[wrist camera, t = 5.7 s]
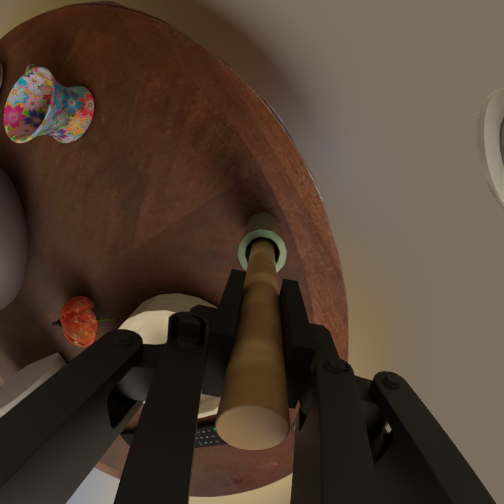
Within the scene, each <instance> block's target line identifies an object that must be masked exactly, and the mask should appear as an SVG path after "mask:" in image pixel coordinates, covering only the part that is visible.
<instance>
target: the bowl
mask: <svg viewBox="0 0 504 504" xmlns="http://www.w3.org/2000/svg"><path fill="white" fill-rule="evenodd" d="M198 304H200V305H205V306H209V307H214V308H217V307H216V306H214V305H212V304H210V303H208V302H206V301H204V300H202V299H200V298H198V297H194V296H189V295H184V294H180V293H173V294H162V295H157V296H155V297H153V298H150V299H148V300H146V301H144V302H142V303H141V304H140V305H139V307H138V308H137V309H136V310H135V311H134V312H133V313H132V314H131V315H130V316H129V317H128V318H127V319H126V321H125V322H124V323H123V324H122V325H121V326H120V327H119V328H118V329H127V330H131V331H134V332H136V333H138V334H139V335H140V336H141V337H142V339H143V344H164V343H166V341H167V334H168V319H169V317H170V316H171V315H172V314H174V313H176V312H184V311H185V312H189V311H190V309H191V308H192V307H194V306H196V305H198ZM219 401H220V397H214V396H209V395H205V394H202V391H201V398H200V406H199V414H198V418H202V417H206V416H210V415H214V414H216V413H217V411H218V406H219ZM143 403H145V401H144V402H143Z"/></svg>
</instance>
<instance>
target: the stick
mask: <svg viewBox="0 0 504 504" xmlns="http://www.w3.org/2000/svg"><path fill="white" fill-rule="evenodd" d="M215 428H216V431H217V433H218V435H219V436H220V437H221V438H222V439H223V440H224V441H225V442H227V443H228V444H230V445H232V446H235V447H237V448H241V449H246V450H262V449H267V448H270V447H273V446H276V445H277V444H279V443H281V442H282V441H283V440H284V439H285V438H286V437H287V435H288V433H289V430H290V418H289V405H288V392H287V380H286V368H285V357H284V345H283V334H282V323H281V313H280V302H279V292H278V282H277V272H276V262H275V253H274V244H273V240H272V239H270V238H266V237H258V238H255V239H253V242H252V246H251V251H250V256H249V261H248V266H247V270H246V278H245V283H244V289H243V294H242V299H241V304H240V309H239V314H238V319H237V324H236V329H235V334H234V339H233V344H232V349H231V354H230V359H229V363H228V365H227V368H226V372H225V377H224V381H223V386H222V391H221V396H220V401H219V406H218V411H217V415H216V420H215Z"/></svg>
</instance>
